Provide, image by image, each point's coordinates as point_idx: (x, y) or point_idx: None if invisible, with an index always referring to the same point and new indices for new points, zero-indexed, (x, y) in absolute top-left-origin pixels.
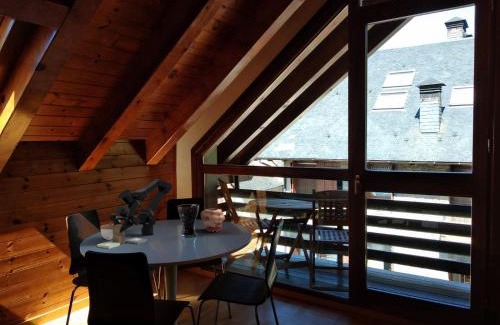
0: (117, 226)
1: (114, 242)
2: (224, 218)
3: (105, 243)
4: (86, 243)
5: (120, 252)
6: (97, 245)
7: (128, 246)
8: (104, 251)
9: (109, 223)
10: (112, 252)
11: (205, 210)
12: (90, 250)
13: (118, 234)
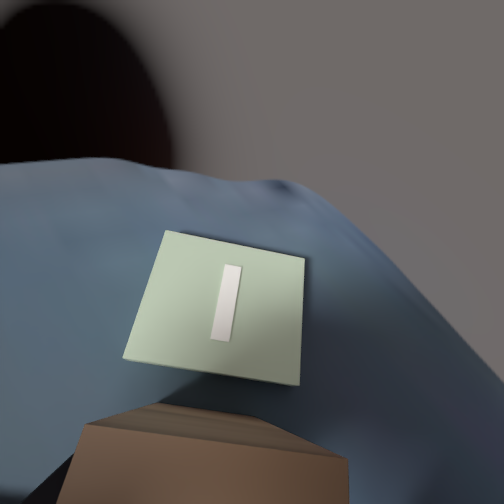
0: (157, 433)
1: (203, 370)
2: None
3: (264, 306)
4: (457, 336)
5: (17, 168)
6: (298, 260)
7: (6, 348)
8: (160, 175)
9: None
10: (85, 162)
11: None
12: (269, 183)
13: (155, 412)
